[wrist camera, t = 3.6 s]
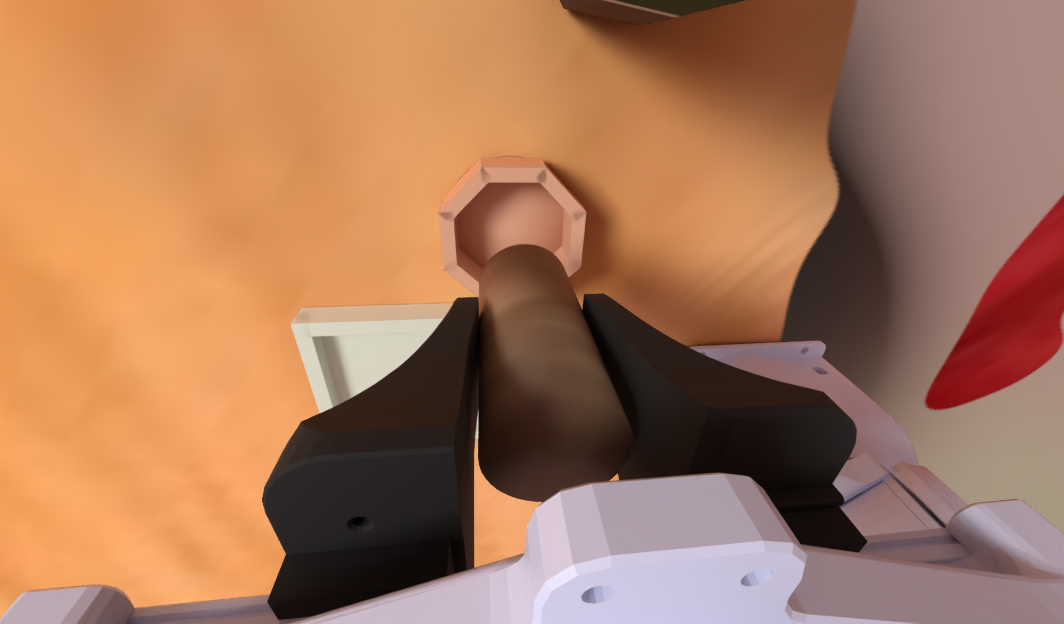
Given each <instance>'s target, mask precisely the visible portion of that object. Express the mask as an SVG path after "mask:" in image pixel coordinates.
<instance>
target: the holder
mask: <svg viewBox="0 0 1064 624" xmlns="http://www.w3.org/2000/svg"><path fill="white" fill-rule="evenodd" d="M585 220H586V210H585V209H584V208H583V206H582V205H581V203H580V202H579V201H578V199H576V198H575V196H574V195H573V194H572V193H571V192H570V191H569V190H568V189H567V188H566V186H565V185H564V184H563V183H562V182H561V181H560V180H559V178H558V177H557V176H556V175H555V174H554V173H553V172H552V171H551V170H550V169H549V168H548V167H547V165H546V164H545V163H544V162H543V161H542V160H541V158H523V157H517V156H502V157H496V158H481V159H480V160H479V161H478V162H477V163H476V164H475V165H474V166H473V167H472V168H471V169H470V170H469V171H467V172H466V173H465V174H464V175H463V176H462V177H461V178H460V180H459V181H458V182H457V183H456V185H455V187H454V188H453V189H452V190H451V191H450V192H449V193H448V194H447V195H446V196H445V197H444V199H442V202H441V206H440V209H439V221H440V232H441V243H442V254H443V265H444V270H445V271H446V272H447V273H449V274H450V275H451V276H452V277H453V278H455V279H456V280H457V281H458V282H460V283H461V284H462V285H463V286H465V287H466V288H467V289H468V290H470V291H471V292H472V293H473V294H475V295H476V296H477V297H478V298H479V279H480V275H481V272H482V270H483V268H484V266H485V264H486V263H487V262H488V260H489V259H490V258H491V257H492V256H494V255H495V254H496V253H497V252H499V251H501V250H503V249H505V248H507V247H510V246H513V245H518V244H532V245H537V246H540V247H543V248H545V249H547V250H549V251H550V252H552V253H553V254H554V255H556V256H557V258H558V259H559V260H560V261H561V263H562V264H563V266H564V268H565V271H566V273H567V275H568V278H569V277H570V276H571V275H572V274H573V273H574V272H576V271H577V270H578V269H579V268H580V267H581V261H582V251H583V241H584V230H585Z"/></svg>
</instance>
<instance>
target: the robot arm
mask: <svg viewBox="0 0 1064 624" xmlns="http://www.w3.org/2000/svg"><path fill="white" fill-rule="evenodd" d="M582 311H583V314H584V316H585V318H586V321H587V323H588V325H589V328H590V330H591V333H592V335H593V337H594V340H595V342H596V345H597V347H598V349H599V352H600V354H601V357H602V359H603V361H604V364H605V366H606V368H607V371H608V373H609V376H610V378H611V380H612V383H613V385H614V388H615V390H616V392H617V395H618V397H619V400H620V402H621V404H622V407H623V409H624V411H625V414H626V416H627V419H628V421H629V423H630V426H631V429H632V433H633V446H632V450H631V453H630V456H629V458H628V460H627V462H626V463H625V465H624V466H623V468H622V469H621V470H620V471H619V472H618V476H619V480H618V481H605V482H592V483H586V484H582V485H578V486H574V487H570V488H566V489H562V490H560V491H559V492H557V493H556V494H554V495H553V496H551V497H550V498H548V499H547V500H546V501H544V502H543V503H541V504H540V505H539V506H538V507H537V508H536V509H535V511H534V513H533V515H532V517H531V520H530V522H529V524H528V526H527V537H526V549H525V553H523V554H520V555H517V556H513V557H510V558H506V559H503V560H500V561H496V562H493V563H490V564H486V565H483V566H480V567H476V568H474V448H475V435H476V426H477V417H478V385H479V299H478V297H467V298H457V299H456V300H455V301H454V303H453V305H452V306H451V308H450V309H449V311H448V313H447V314H446V315H445V317H444V318H443V320H442V321H441V322H440V324H439V325H438V326H437V328H436V329H435V330H434V331H433V333H432V334H431V335H430V336H429V337H428V338H427V340H426V341H425V342H424V343H423V344H422V345H421V346H420V347H419V348H418V349H417V350H416V351H415V352H414V353H413V354H412V355H411V356H410V357H409V358H408V359H407V360H406V361H405V362H404V363H402V364H401V365H400V366H399V367H398V368H396V369H395V370H393V371H392V372H391V373H389V374H388V375H386V376H385V377H384V378H382V379H381V380H380V381H378V382H377V383H375V384H374V385H372V386H370V387H369V388H367V389H366V390H364V391H362V392H361V393H359V394H357V395H355V396H354V397H352V398H350V399H348V400H346V401H344V402H343V403H341V404H339V405H337V406H334V407H332V408H330V409H328V410H326V411H324V412H322V413H319V414H317V415H315V416H313V417H311V418H309V419H306V420H304V421H302V422H301V423H300V425H299V426H298V428H297V429H296V431H295V432H294V434H293V435H292V437H291V438H290V440H289V441H288V443H287V445H286V447H285V448H284V450H283V452H282V454H281V456H280V458H279V460H278V462H277V464H276V466H275V468H274V469H273V471H272V473H271V475H270V477H269V479H268V481H267V483H266V485H265V487H264V492H263V497H262V502H263V506H264V510H265V513H266V515H267V517H268V519H269V521H270V523H271V525H272V527H273V529H274V531H275V533H276V535H277V537H278V539H279V541H280V543H281V545H282V547H283V549H284V551H285V553H286V556H285V558H284V561H283V563H282V566H281V568H280V571H279V573H278V576H277V578H276V581H275V583H274V586H273V588H272V591H271V593H270V595H261V596H250V597H240V598H230V599H220V600H210V601H200V602H190V603H180V604H170V605H160V606H150V607H139V608H134V606H133V604H132V602H131V600H130V599H129V597H128V596H127V595H126V594H125V593H124V592H123V591H121V590H119V589H118V588H115V587H112V586H108V585H82V586H72V587H61V588H50V589H39V590H30V591H27V592H25V593H22V594H21V595H20V596H19V597H18V598H17V600H16V601H15V602H14V603H13V604H12V605H11V606H10V608H9V609H8V610H7V611H6V612H5V613H4V614H3V616H2V617H1V618H0V624H1064V533H1063V532H1062V531H1061V530H1059V529H1058V528H1057V527H1056V526H1054V525H1053V524H1052V523H1050V522H1049V521H1048V520H1047V519H1046V518H1044V517H1043V516H1042V515H1041V514H1039V513H1038V512H1037V511H1036V510H1034V509H1033V508H1032V507H1031V506H1029V505H1028V504H1027V503H1026V502H1024V501H1023V500H1018V499H1011V500H1002V501H1001V500H1000V501H990V502H979V503H974V504H970V505H967V504H966V503H965V502H964V501H963V500H962V499H961V498H960V497H959V496H957V495H956V494H955V493H954V492H953V491H952V490H951V489H950V488H948V487H947V486H946V485H945V484H944V483H943V482H942V481H940V480H939V479H938V478H937V477H936V476H935V475H934V474H933V473H931V472H930V471H929V470H928V469H927V468H925V467H923V466H918V463H917V458H916V454H915V451H914V449H913V447H912V444H911V442H910V440H909V438H908V436H907V435H906V433H905V432H904V430H903V429H902V428H901V426H900V425H899V424H898V423H897V422H896V420H895V419H894V418H893V417H891V416H890V415H889V414H888V413H887V412H885V410H883V409H882V408H881V407H880V406H879V405H877V404H876V403H875V402H874V401H873V400H872V399H870V398H869V397H868V396H867V395H866V394H865V393H863V392H862V391H861V390H860V389H859V388H857V387H856V386H855V385H854V384H853V383H852V382H851V381H849V380H848V379H847V378H846V377H845V376H844V375H842V374H841V373H840V372H839V371H838V370H836V369H835V368H834V367H833V366H832V365H831V364H829V363H828V362H827V361H826V360H825V359H823V358H822V355H823V353H824V351H825V349H826V345H825V344H824V343H822V342H821V341H799V342H776V343H754V344H732V345H709V346H692V347H687V346H685V345H683V344H681V343H679V342H677V341H675V340H673V339H672V338H670V337H668V336H667V335H665V334H663V333H662V332H660V331H658V330H657V329H655V328H653V327H652V326H650V325H649V324H647V323H646V322H644V321H643V320H641V319H640V318H638V317H637V316H635V315H634V314H633V313H631V312H630V311H628V310H627V309H625V308H624V307H623V306H621V305H620V304H618V303H617V302H616V301H614V300H613V299H611V298H610V297H608V296H607V295H605V294H584V300H583V309H582ZM701 353H702V354H701Z"/></svg>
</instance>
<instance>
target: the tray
mask: <svg viewBox="0 0 1064 624" xmlns="http://www.w3.org/2000/svg"><path fill="white" fill-rule="evenodd" d="M452 305H453V303H436V304H404V305H371V306H338V307H306V308H302V309H301V310H300V312H299V313H298V314H297V316H296V317H295V318H294V320H293V321H292V323H291V327H292V330H293V333H294V336H295V339H296V342H297V345H298V348H299V351H300V354H301V357H302V360H303V363H304V366H305V370H306V373H307V376H308V379H309V382H310V385H311V388H312V391H313V394H314V397H315V400H316V403H317V406H318V409H319V412H320V413H322V412H324V411H326V410H328V409H330V408H332V407H334V406H337V405H339V404H341V403H343V402H344V401H346V400H348V399H350V398H352V397H354V396H355V395H357V394H359V393H361V392H362V391H364V390H366V389H367V388H369V387H370V386H372V385H374V384H375V383H377V382H378V381H380V380H381V379H382V378H384V377H385V376H386V375H388V374H389V373H391V372H392V371H393V370H395V369H396V368H398V367H399V366H400V365H401V364H402V363H404V362H405V361H406V360H407V359H408V358H409V357H410V356H411V355H412V354H413V353H414V352H415V351H416V350H417V349H418V348H419V347H420V346H421V345H422V344H423V343H424V342H425V341H426V340H427V338H428V337H429V336H430V335H431V334H432V333H433V331H434V330H435V329H436V328H437V326H438V325H439V324H440V322H441V321H442V320H443V318H444V317H445V315H446V314H447V313H448V311H449V309H450V308H451V306H452ZM475 439H478V417H477V426H476V435H475Z"/></svg>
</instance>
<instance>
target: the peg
mask: <svg viewBox="0 0 1064 624" xmlns="http://www.w3.org/2000/svg"><path fill="white" fill-rule="evenodd" d="M632 446H633V433H632V429H631V426H630V423H629V421H628V419H627V416H626V414H625V411H624V409H623V407H622V404H621V402H620V400H619V397H618V395H617V392H616V390H615V388H614V385H613V383H612V380H611V378H610V376H609V373H608V371H607V368H606V366H605V364H604V361H603V359H602V357H601V354H600V352H599V349H598V347H597V345H596V342H595V340H594V337H593V335H592V333H591V330H590V328H589V325H588V323H587V321H586V318H585V316H584V314H583V311H582V309H581V306H580V304H579V302H578V299H577V297H576V294H575V292H574V290H573V287H572V285H571V282H570V280H569V278H568V275H567V273H566V271H565V268H564V266H563V264H562V263H561V261H560V260H559V259H558V258H557V256H556V255H554V254H553V253H552V252H550V251H549V250H547V249H545V248H543V247H540V246H537V245H532V244H518V245H513V246H510V247H507V248H505V249H503V250H501V251H499V252H497V253H496V254H495V255H494V256H492V257H491V258H490V259H489V260H488V262H487V263H486V264H485V266H484V268H483V270H482V272H481V275H480V279H479V385H478V460H479V466H480V469H481V471H482V473H483V475H484V477H485V478H486V479H487V480H488V482H489V483H490V484H491V485H492V486H494V487H495V488H496V489H498V490H499V491H501V492H503V493H505V494H507V495H509V496H512V497H515V498H518V499H522V500H527V501H535V502H544V501H546V500H547V499H548V498H550V497H551V496H553V495H554V494H556V493H557V492H559V491H560V490H562V489H566V488H570V487H574V486H578V485H582V484H586V483H592V482H605V481H609V480H611V479H612V478H613V477H614V476H615V475H616V474H617V473H618V472H619V471H620V470H621V469H622V468H623V466H624V465H625V463H626V462H627V460H628V458H629V456H630V453H631V450H632Z"/></svg>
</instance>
